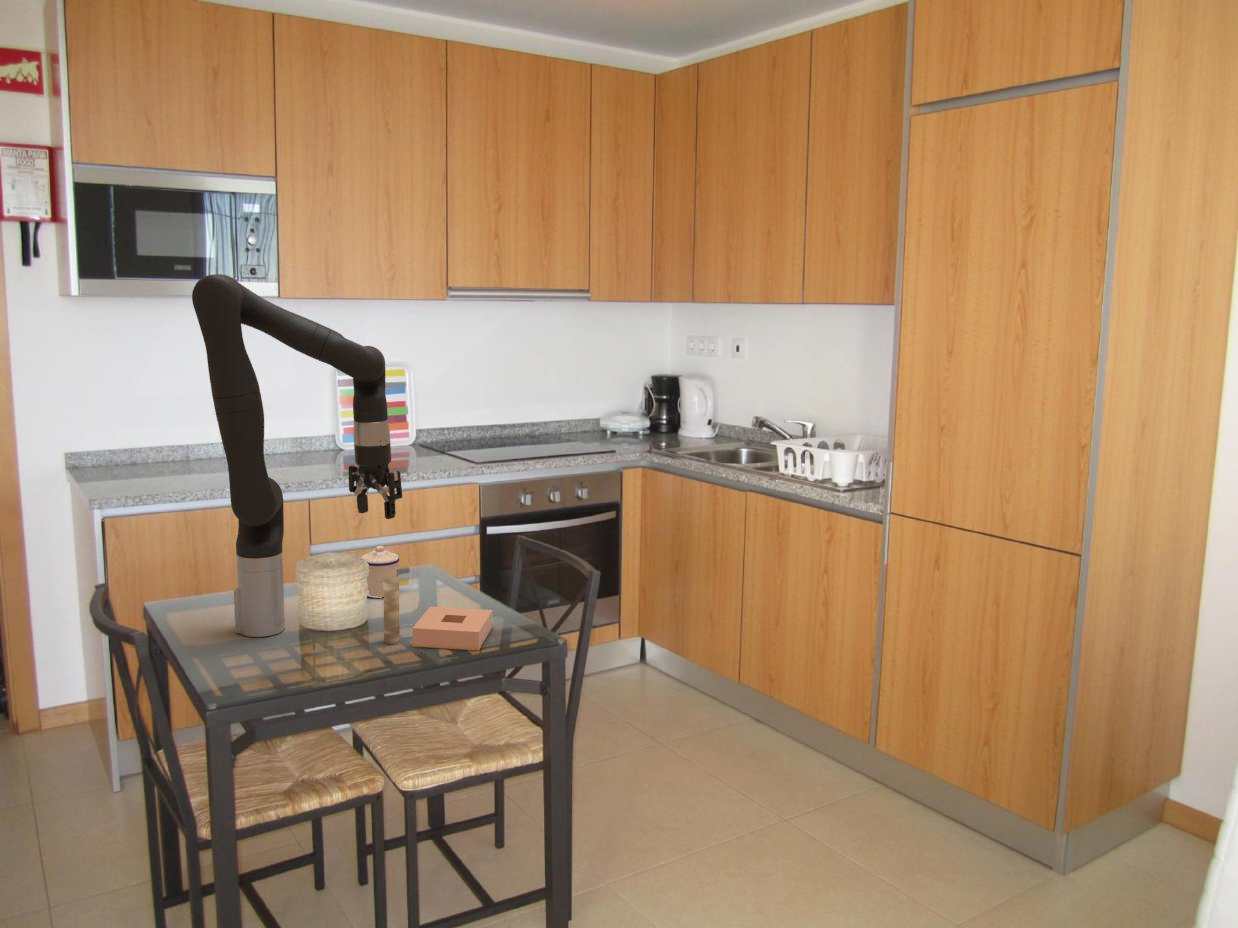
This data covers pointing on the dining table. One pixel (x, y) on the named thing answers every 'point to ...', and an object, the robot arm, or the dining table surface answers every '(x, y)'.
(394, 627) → the peg
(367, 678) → the dining table surface
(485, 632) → the socket block
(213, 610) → the dining table surface
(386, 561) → the tan lidded jar
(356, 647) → the dining table surface
